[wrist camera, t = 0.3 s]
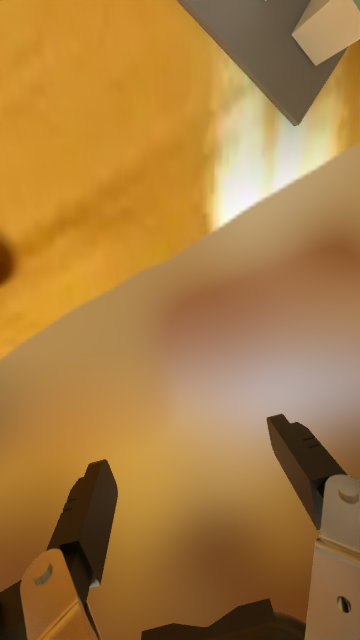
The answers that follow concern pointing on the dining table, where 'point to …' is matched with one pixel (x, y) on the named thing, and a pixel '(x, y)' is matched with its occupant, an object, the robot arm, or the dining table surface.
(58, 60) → the dining table surface
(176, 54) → the dining table surface
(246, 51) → the grey base
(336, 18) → the beige and green block
